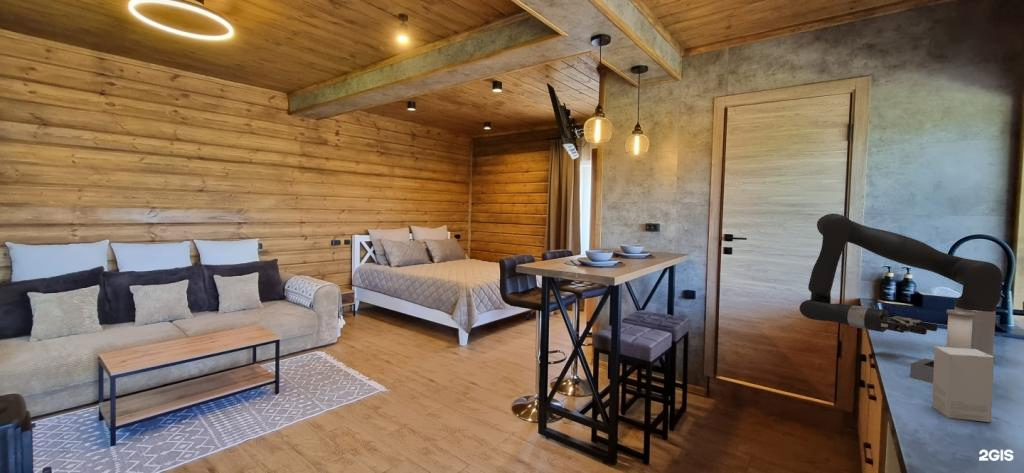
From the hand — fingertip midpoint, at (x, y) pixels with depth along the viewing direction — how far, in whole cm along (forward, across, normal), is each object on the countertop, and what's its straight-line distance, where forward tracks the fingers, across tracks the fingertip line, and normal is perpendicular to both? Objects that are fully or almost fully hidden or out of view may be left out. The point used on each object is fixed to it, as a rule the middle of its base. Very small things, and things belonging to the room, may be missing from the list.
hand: (931, 329), depth 131 cm
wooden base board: (+6, -6, +12) cm, 15 cm away
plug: (+6, 0, +11) cm, 13 cm away
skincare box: (+15, -35, +13) cm, 40 cm away
